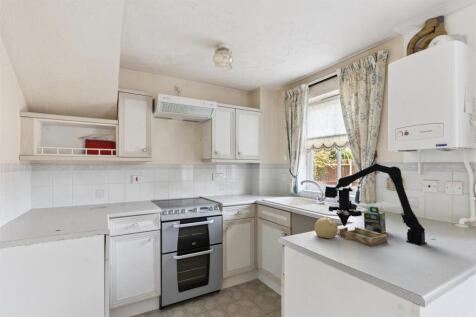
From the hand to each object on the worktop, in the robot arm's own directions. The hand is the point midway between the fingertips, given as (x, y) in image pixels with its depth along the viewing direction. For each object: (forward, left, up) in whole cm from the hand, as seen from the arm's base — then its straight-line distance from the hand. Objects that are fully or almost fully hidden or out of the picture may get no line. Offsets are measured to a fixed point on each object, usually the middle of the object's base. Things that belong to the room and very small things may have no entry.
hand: (344, 225), depth 136 cm
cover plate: (+6, +1, -5) cm, 8 cm away
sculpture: (0, +14, -5) cm, 15 cm away
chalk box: (-6, -19, -5) cm, 20 cm away
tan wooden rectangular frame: (-12, 0, -4) cm, 12 cm away
